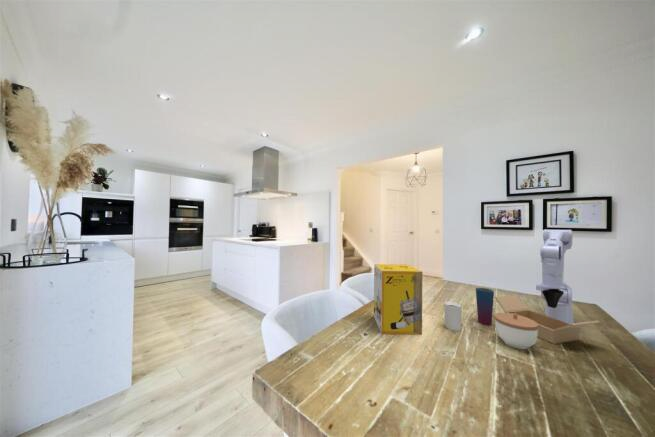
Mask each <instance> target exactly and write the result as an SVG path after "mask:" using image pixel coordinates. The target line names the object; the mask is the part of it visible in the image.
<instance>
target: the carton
mask: <svg viewBox="0 0 655 437" xmlns="http://www.w3.org/2000/svg"><path fill="white" fill-rule="evenodd" d="M504 313H510V314H514V313H515V314H517V315H520V316H524V317H527V318H529V319H532V320H534V321H535V322H537V323H538V325H539V328H538V337H537V339H540V340H543V341H546V342H548V343H550V344H552V345H557V344H562V343H563V344H564V343H569V342H577V341H580V340H581V334H580V332H581V331H580V330H581V328H575V329H567V330H559V331H554V329H557V328H560V327H563V326H566V325H569V323H566V322H563V321H560V320H557V319H554V318H551V317H548V316H546V314H542V313H539V312H536V311H533V310H530V309H527V310H518V311H507V312H504Z"/></svg>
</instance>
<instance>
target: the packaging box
mask: <svg viewBox="0 0 655 437" xmlns="http://www.w3.org/2000/svg"><path fill="white" fill-rule="evenodd" d="M373 265H374V266H373V269H374V270H373V272H374V273H373V274H374V275H373V287H374V288H373V318H374V320H375V323H376V325H377V326H378V329H379V331H380V333H381V335H386V334H387V335H390V334H391V335H423V271H421V270H420V269H418V268H416V267H414V266H412V265H411V264H386V263H384V264H383V263H380V264H379V263H378V264H377V263H374V264H373Z"/></svg>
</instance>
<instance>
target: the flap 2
mask: <svg viewBox="0 0 655 437" xmlns="http://www.w3.org/2000/svg"><path fill="white" fill-rule="evenodd" d="M597 323H600V321H599V320H591V321H583V322H576V323H575V322H573V324H569V325H566V326H563V327H560V328H557V329H554V331H559V330H567V329H575V328H580V329H581V328H585V327H587V326H591V325H594V324H597Z"/></svg>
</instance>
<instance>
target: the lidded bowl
mask: <svg viewBox="0 0 655 437" xmlns="http://www.w3.org/2000/svg"><path fill="white" fill-rule="evenodd" d="M493 318H494V326H495V331H496V333H497V335H498V336H499V337H500V339H501V340H502V342H503V343H505V344H506V345H508V346H510V347H512V348H515V349H519V350H528V349H529V348H530V347H532V346H534V344H536V342H537V340H538V328H539V325H538V323H537V322H535V321H534V320H532V319H529V318H527V317H524V316H520V315H517V314H515V313H514V314H510V313H505V312H496V313H495V314H494V316H493Z"/></svg>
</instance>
